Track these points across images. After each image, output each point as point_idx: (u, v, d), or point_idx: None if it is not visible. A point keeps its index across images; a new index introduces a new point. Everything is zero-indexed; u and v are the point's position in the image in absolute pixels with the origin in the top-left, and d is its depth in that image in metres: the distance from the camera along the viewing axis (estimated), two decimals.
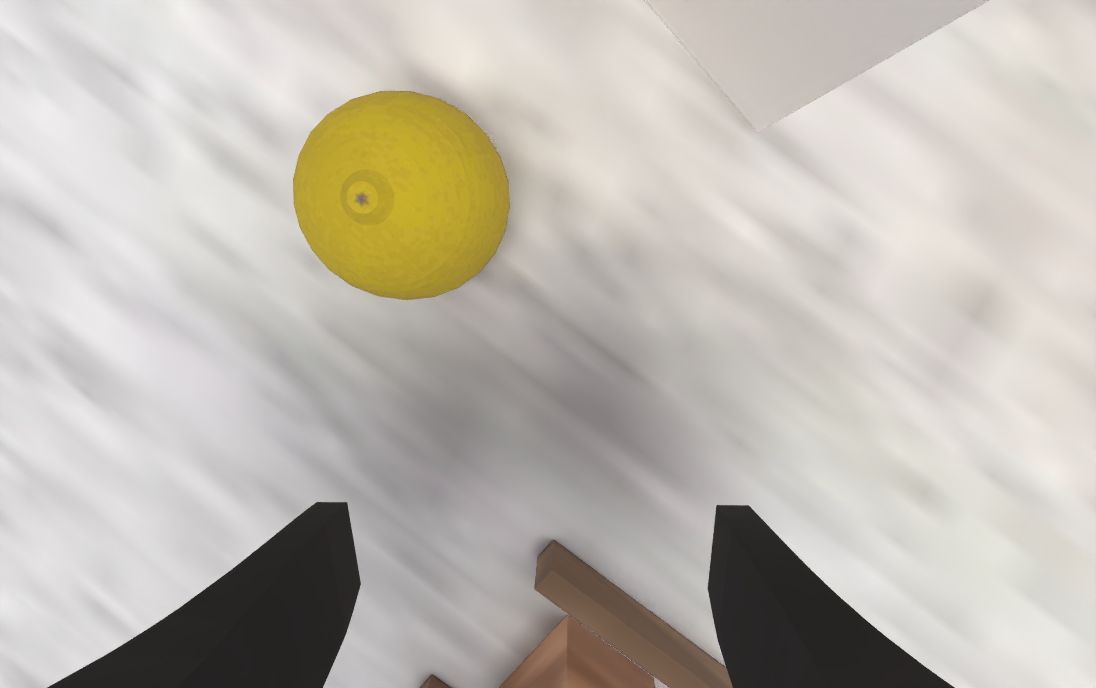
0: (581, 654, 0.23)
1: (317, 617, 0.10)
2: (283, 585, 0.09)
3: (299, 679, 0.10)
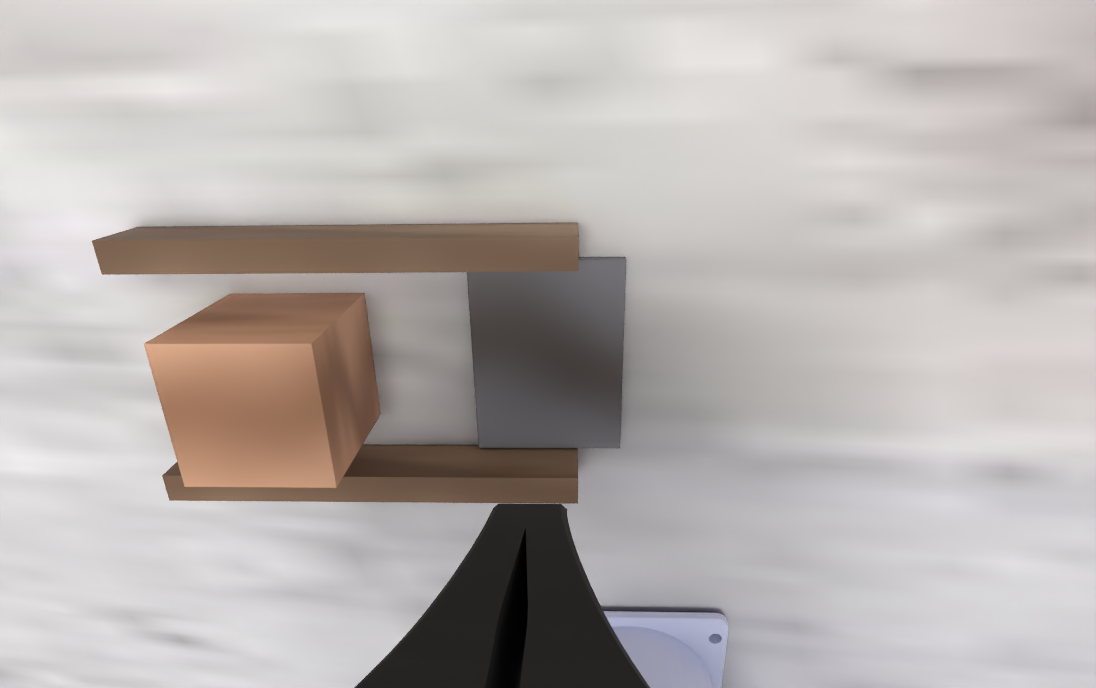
0: (222, 310, 0.19)
1: (521, 620, 0.10)
2: (510, 588, 0.09)
3: (514, 683, 0.10)
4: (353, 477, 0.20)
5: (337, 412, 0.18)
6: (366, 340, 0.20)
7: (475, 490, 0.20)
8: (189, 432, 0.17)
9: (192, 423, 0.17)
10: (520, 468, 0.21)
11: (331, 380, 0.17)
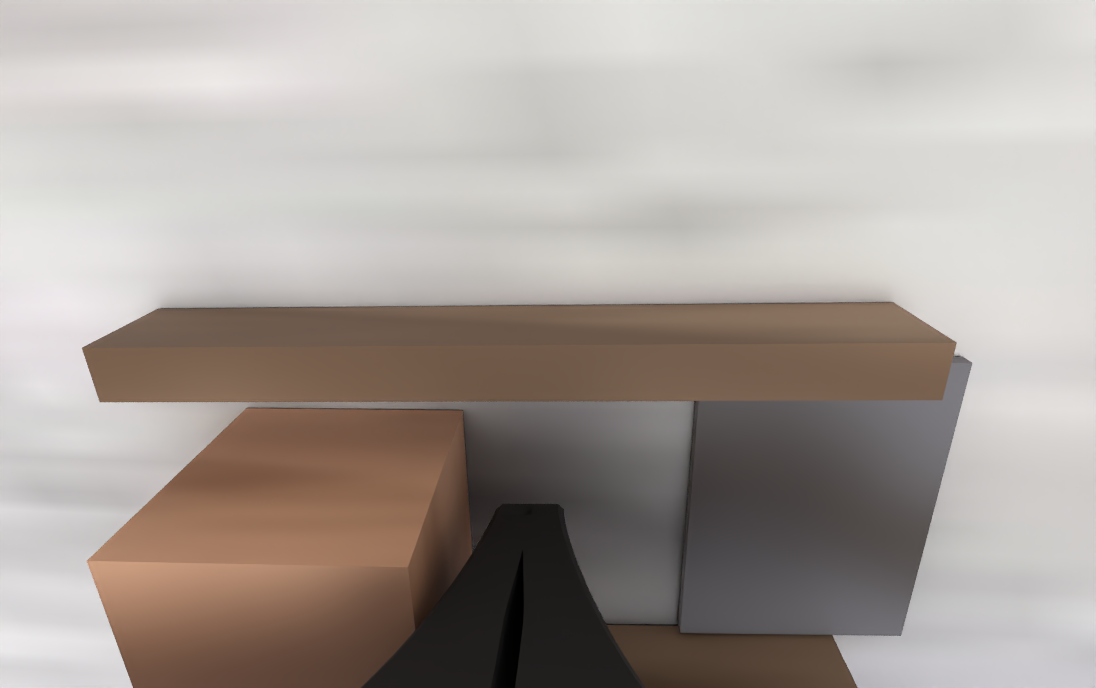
0: (234, 454, 0.11)
1: None
2: (515, 588, 0.09)
3: None
4: None
5: None
6: (463, 486, 0.13)
7: None
8: None
9: (179, 685, 0.09)
10: (762, 681, 0.13)
11: (429, 602, 0.10)
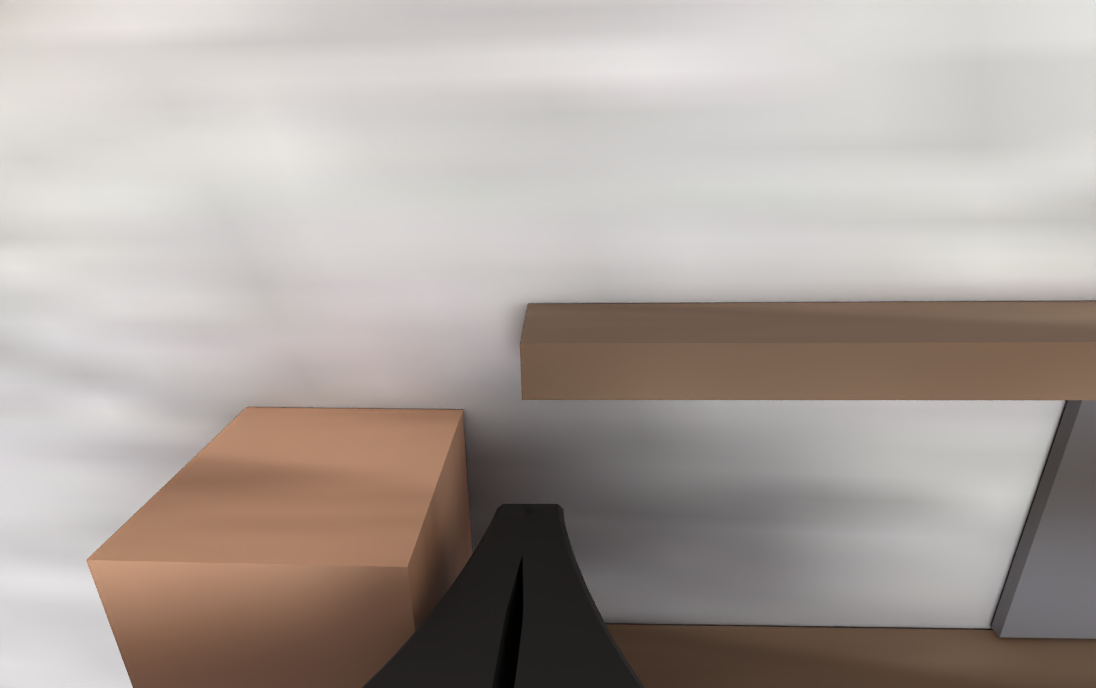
0: (234, 454, 0.11)
1: None
2: (516, 588, 0.09)
3: None
4: None
5: None
6: (463, 485, 0.13)
7: None
8: None
9: (178, 685, 0.09)
10: None
11: (429, 602, 0.10)
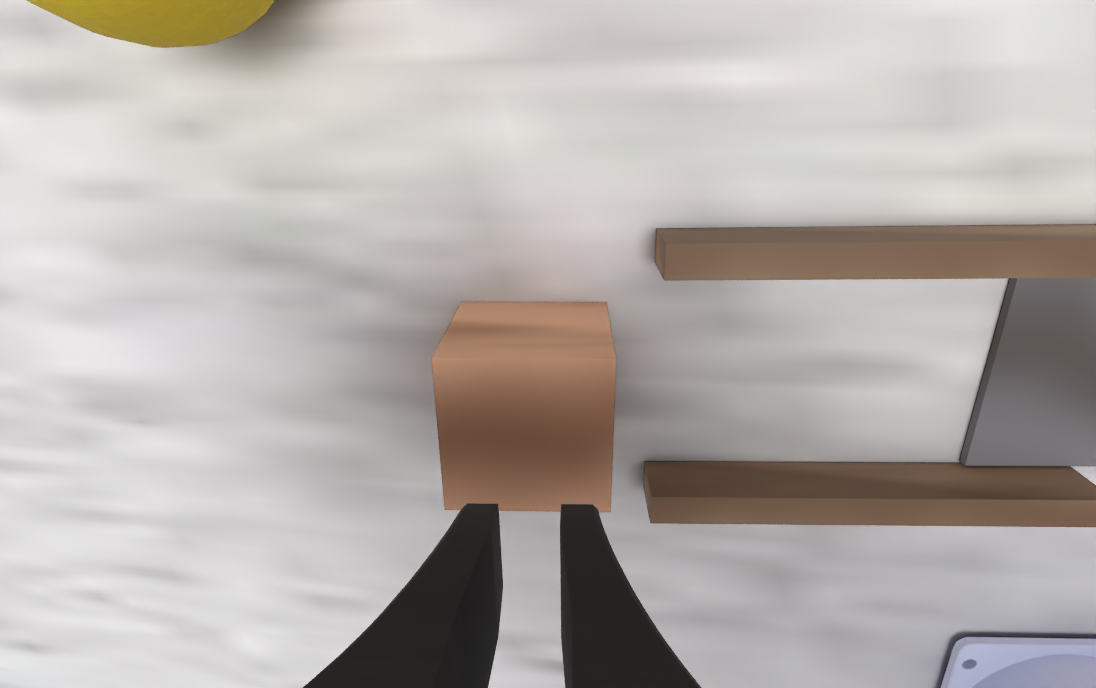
0: (475, 320, 0.17)
1: (485, 620, 0.10)
2: (471, 587, 0.09)
3: (477, 682, 0.10)
4: (861, 499, 0.19)
5: None
6: None
7: (996, 513, 0.19)
8: (461, 452, 0.16)
9: (467, 443, 0.16)
10: (1037, 489, 0.19)
11: None
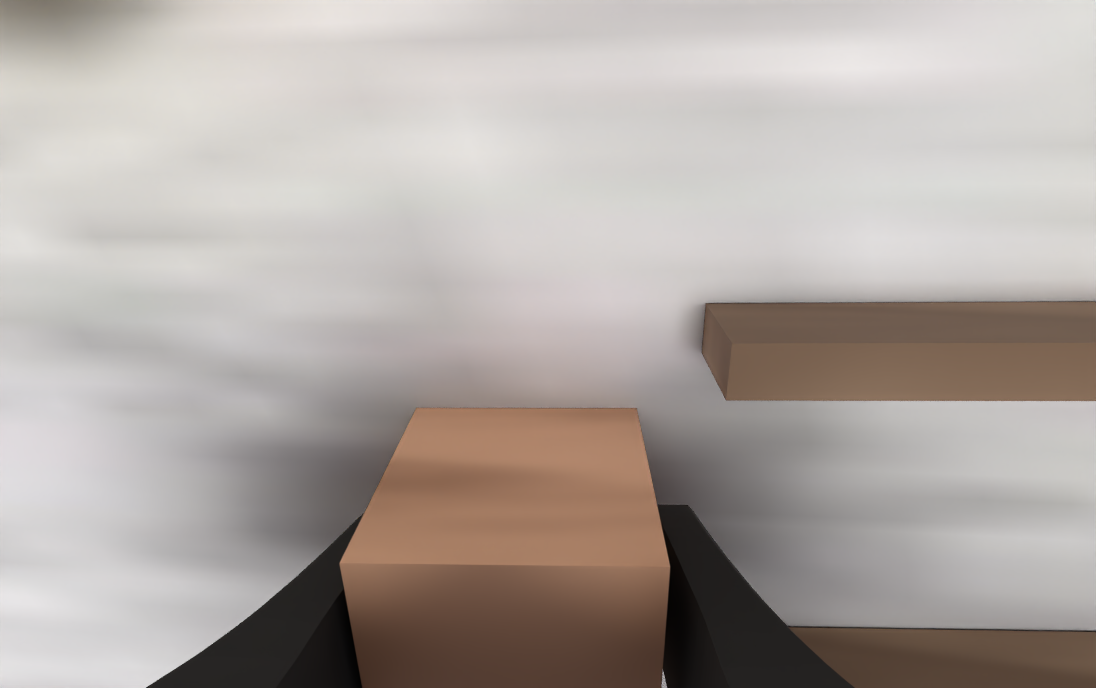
0: (430, 455, 0.11)
1: None
2: None
3: None
4: None
5: None
6: None
7: None
8: None
9: None
10: None
11: None
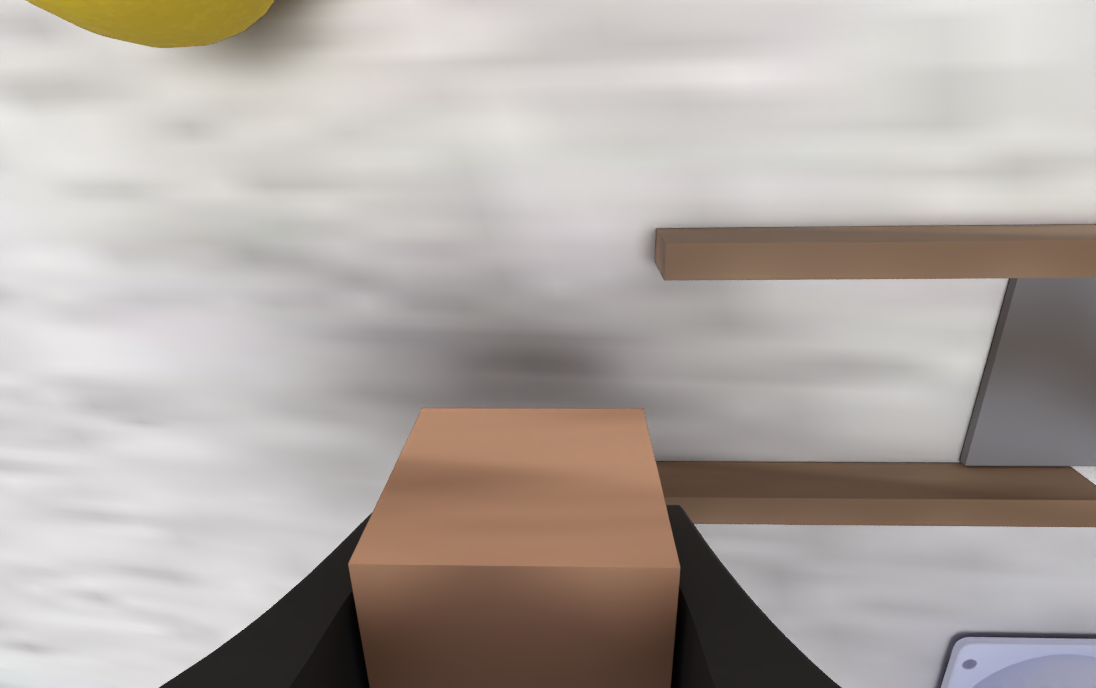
0: (437, 455, 0.11)
1: None
2: None
3: None
4: (862, 499, 0.19)
5: None
6: None
7: (996, 513, 0.19)
8: None
9: None
10: (1037, 489, 0.19)
11: None
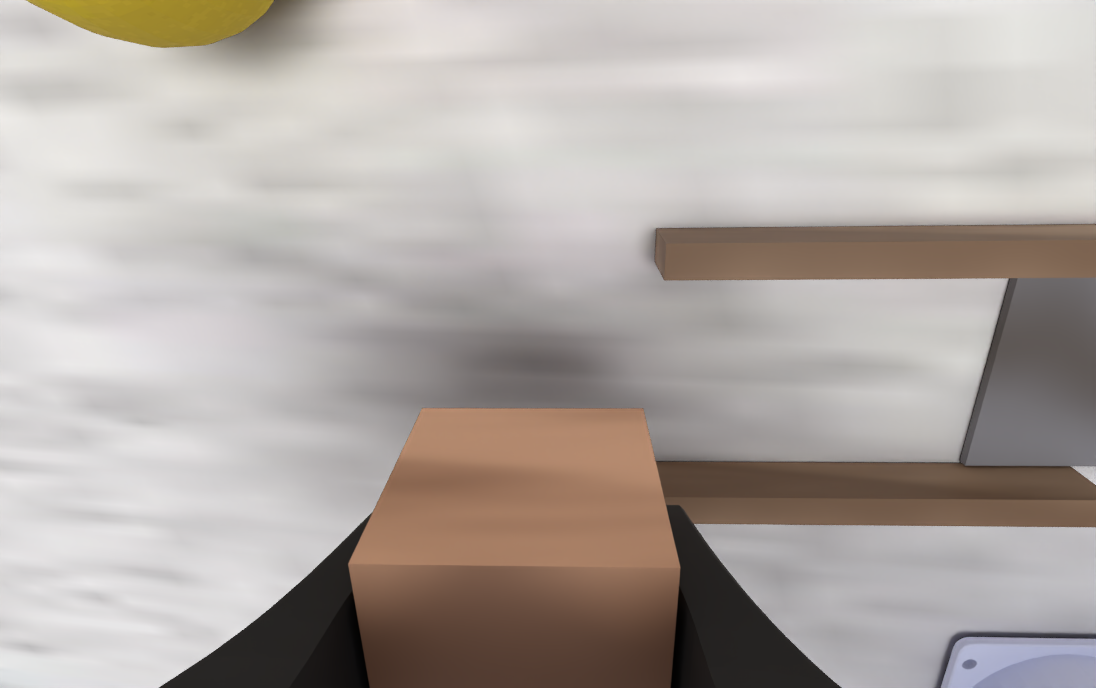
0: (437, 455, 0.11)
1: None
2: None
3: None
4: (862, 499, 0.19)
5: None
6: None
7: (996, 513, 0.19)
8: None
9: None
10: (1037, 489, 0.19)
11: None
